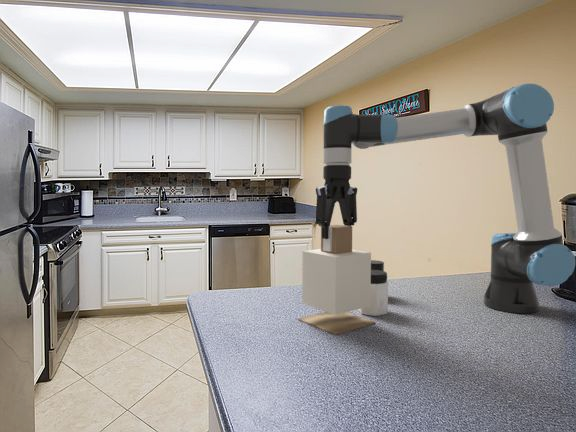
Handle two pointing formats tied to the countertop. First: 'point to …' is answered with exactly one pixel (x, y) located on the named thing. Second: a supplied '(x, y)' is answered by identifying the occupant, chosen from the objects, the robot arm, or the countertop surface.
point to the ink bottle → (377, 265)
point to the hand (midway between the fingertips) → (336, 249)
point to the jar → (377, 295)
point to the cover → (337, 275)
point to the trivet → (336, 322)
